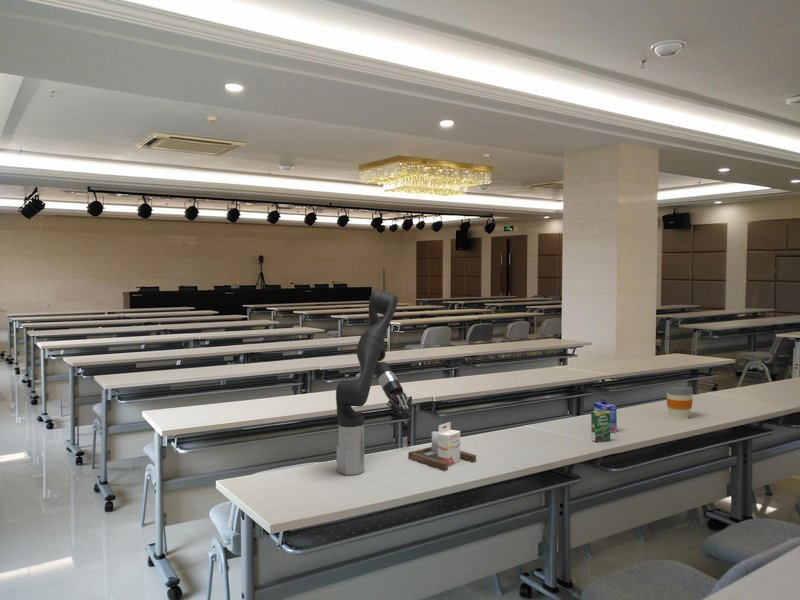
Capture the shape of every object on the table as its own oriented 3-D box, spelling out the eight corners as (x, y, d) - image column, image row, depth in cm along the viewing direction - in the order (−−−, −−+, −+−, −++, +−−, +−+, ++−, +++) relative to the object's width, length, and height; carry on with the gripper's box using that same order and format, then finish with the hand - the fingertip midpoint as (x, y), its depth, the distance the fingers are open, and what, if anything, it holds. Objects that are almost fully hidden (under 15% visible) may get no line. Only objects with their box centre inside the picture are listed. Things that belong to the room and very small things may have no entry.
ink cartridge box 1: (448, 466, 224) (447, 427, 223) (437, 464, 227) (437, 425, 226) (461, 461, 230) (460, 423, 230) (450, 458, 234) (450, 421, 233)
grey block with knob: (427, 461, 229) (427, 435, 229) (421, 459, 232) (421, 434, 231) (450, 455, 237) (450, 430, 236) (444, 453, 239) (444, 429, 239)
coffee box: (594, 442, 255) (594, 412, 254) (590, 441, 257) (590, 410, 257) (610, 441, 257) (611, 410, 257) (606, 439, 260) (606, 409, 259)
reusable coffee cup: (698, 419, 294) (698, 389, 294) (672, 420, 294) (672, 389, 294) (685, 414, 307) (685, 384, 306) (661, 414, 307) (661, 385, 306)
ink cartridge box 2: (593, 428, 279) (593, 397, 279) (602, 427, 281) (602, 396, 281) (607, 433, 270) (607, 401, 270) (617, 432, 272) (617, 400, 272)
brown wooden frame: (444, 471, 219) (444, 464, 219) (408, 458, 234) (408, 452, 234) (476, 461, 230) (476, 455, 229) (440, 450, 245) (440, 444, 245)
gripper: (381, 380, 249) (401, 415, 240) (406, 377, 257) (425, 410, 248) (374, 391, 253) (392, 426, 244) (398, 388, 261) (417, 420, 252)
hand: (409, 418), depth 246 cm, fingers closed
